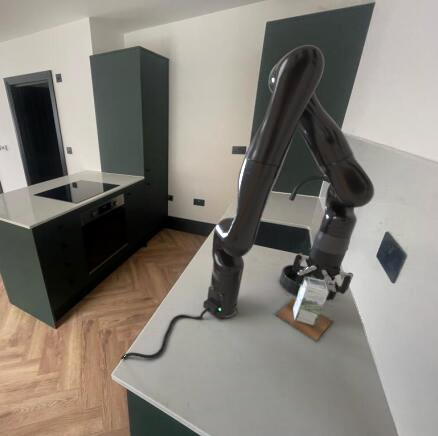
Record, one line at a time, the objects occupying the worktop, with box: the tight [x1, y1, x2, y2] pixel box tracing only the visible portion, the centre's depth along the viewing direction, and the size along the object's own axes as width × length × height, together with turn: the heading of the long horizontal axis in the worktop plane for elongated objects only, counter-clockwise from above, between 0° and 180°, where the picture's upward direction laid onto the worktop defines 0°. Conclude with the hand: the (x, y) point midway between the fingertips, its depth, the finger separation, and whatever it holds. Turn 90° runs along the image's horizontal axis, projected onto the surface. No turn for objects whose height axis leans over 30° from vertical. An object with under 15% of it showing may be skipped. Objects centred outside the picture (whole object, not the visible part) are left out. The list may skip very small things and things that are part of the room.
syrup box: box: [293, 276, 329, 326], centre depth 73 cm, size 6×6×14 cm
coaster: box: [275, 299, 333, 342], centre depth 76 cm, size 12×12×1 cm
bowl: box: [278, 264, 325, 297], centre depth 89 cm, size 14×14×6 cm
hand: (313, 291), depth 71 cm, fingers closed on syrup box, 7 cm apart
